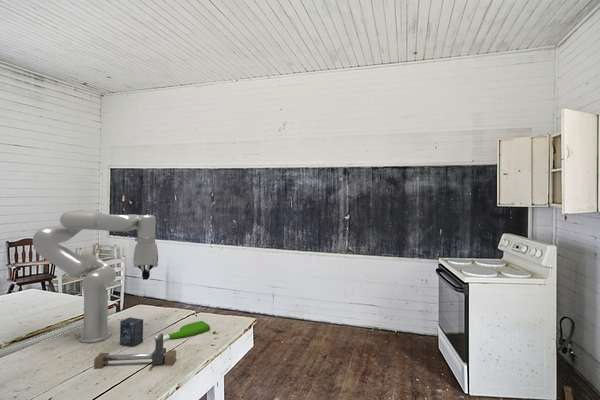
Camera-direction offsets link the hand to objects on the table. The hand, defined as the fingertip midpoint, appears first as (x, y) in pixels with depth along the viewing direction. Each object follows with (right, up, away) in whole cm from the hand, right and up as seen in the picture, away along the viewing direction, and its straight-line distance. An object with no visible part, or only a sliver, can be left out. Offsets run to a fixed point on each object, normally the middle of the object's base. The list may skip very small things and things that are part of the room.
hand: (145, 279), depth 154 cm
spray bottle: (+17, -28, +3) cm, 33 cm away
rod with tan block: (+9, -27, -26) cm, 39 cm away
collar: (+17, -27, -25) cm, 41 cm away
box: (-2, -27, -8) cm, 29 cm away
